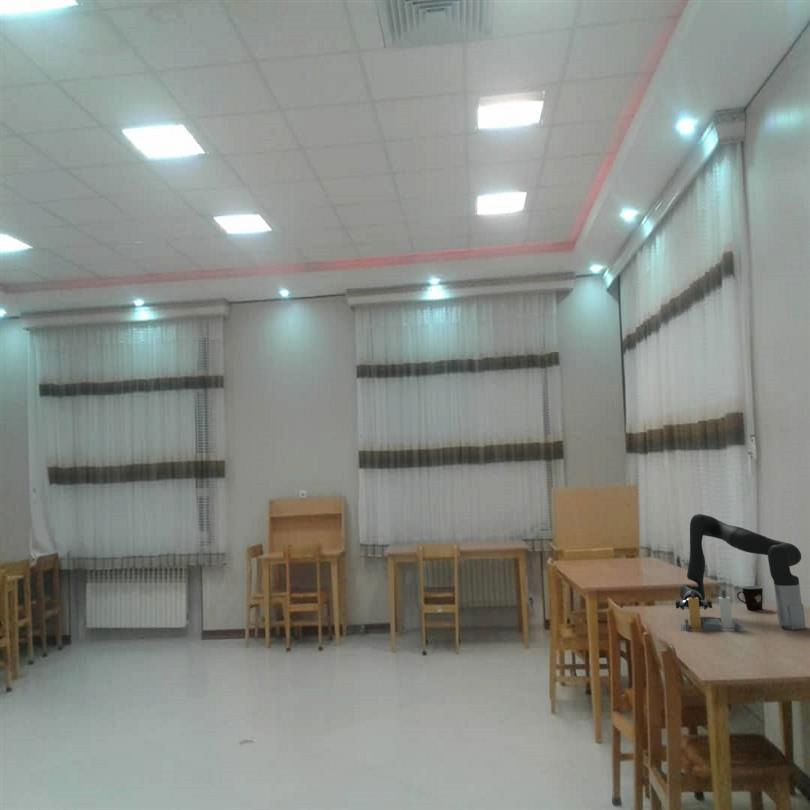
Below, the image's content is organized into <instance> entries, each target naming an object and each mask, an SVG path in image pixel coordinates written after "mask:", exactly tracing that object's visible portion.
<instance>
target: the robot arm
mask: <svg viewBox="0 0 810 810" xmlns="http://www.w3.org/2000/svg"><path fill="white" fill-rule="evenodd" d="M703 536H704V537H710V538H715V539H719V540H722V541H724V542H726V543H727V545H729V546H731V547H732V548H735V549H737V550H740V551H742V552H745V553H750V554H756V555H764V556H767V560H768V566H769V567H768V568H769V572H770V576H771V578H772V581H773V585H774V588H773V589H774V595H775V596H774V597H775V604H776V611H777V621H778V626H780V627H781V629H784V630H791V631H794V630H795V629H796V630H803V629H806V628H807V626H806V617H805V610H804V604H803V603H802V595H801V588H800V580H799V579H800V578H799V577H798V576H796V575H794V574H793V573H792V572H791V568H790V567H794V566H796V565H798V564H799V563H800V562H801V560H802V553H801V551H800V549H798V547H797V546H795V545H794V544H792V543H789V542H785V541H782V540H776V539H772V538H769V537H767V536H765V535H762V534H760V533H758V532H754V531H752V530H749V529H746V528H743V527H740V526H736V525H730V524H727V523H725V522H722V521H721V520H718V519H717V518H715V517H713V516H711V515H707V514H706V515H705V514H702V513H701V514H700V513H697V514H696V513H695V514H694V515H693V516H692V517H691V519H690V522H689V560H688V567H687V574H686V578H687V579H688V580H690V581H693V582H694V583H695V584H696V585H697V586H695V585H689V584H683V585H682V586H681V588H680V590H679V596H680V599H681V600H682V601H680V600H679V599H676V600H675V609H677V610H678V609H681V610H682V611H684V610H685V609H686V610H689V604H688V598H689V597H691V591H694V595H695V597H698V600H699V609H700V610H701V609H703V610H705V611H706V610H708V608H709V609H713V604H712V600H711V599H707V600H705V598H706V594H705V586H704V578H705V570H706V558H705V555H704V550H703Z"/></svg>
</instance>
